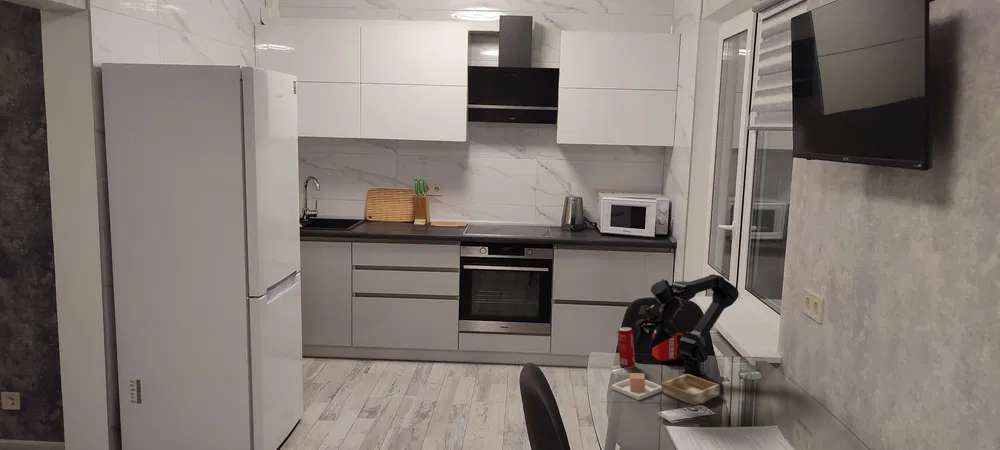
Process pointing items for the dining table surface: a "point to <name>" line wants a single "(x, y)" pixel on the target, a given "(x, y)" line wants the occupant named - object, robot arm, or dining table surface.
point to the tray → (625, 389)
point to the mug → (666, 349)
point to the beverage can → (626, 347)
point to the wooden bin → (690, 389)
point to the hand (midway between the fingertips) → (642, 346)
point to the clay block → (637, 382)
